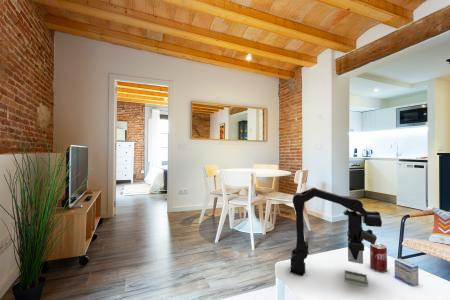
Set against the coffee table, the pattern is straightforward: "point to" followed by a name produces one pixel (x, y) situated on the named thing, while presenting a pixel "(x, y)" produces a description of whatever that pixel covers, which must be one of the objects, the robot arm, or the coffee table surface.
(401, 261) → the medicine box
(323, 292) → the coffee table surface
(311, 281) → the coffee table surface
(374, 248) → the soda can
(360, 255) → the billet
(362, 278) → the grey green tray
